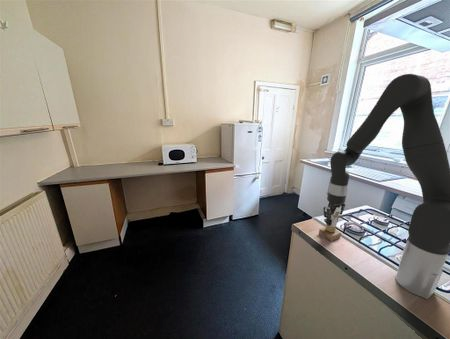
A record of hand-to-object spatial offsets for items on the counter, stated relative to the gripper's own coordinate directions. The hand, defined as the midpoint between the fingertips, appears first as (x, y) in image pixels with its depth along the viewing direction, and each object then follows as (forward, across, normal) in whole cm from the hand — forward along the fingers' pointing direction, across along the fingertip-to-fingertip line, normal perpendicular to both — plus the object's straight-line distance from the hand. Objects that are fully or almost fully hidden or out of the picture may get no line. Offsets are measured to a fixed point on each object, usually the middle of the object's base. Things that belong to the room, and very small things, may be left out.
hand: (331, 223), depth 90 cm
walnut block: (+7, 0, 0) cm, 7 cm away
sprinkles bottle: (+4, 0, 0) cm, 4 cm away
